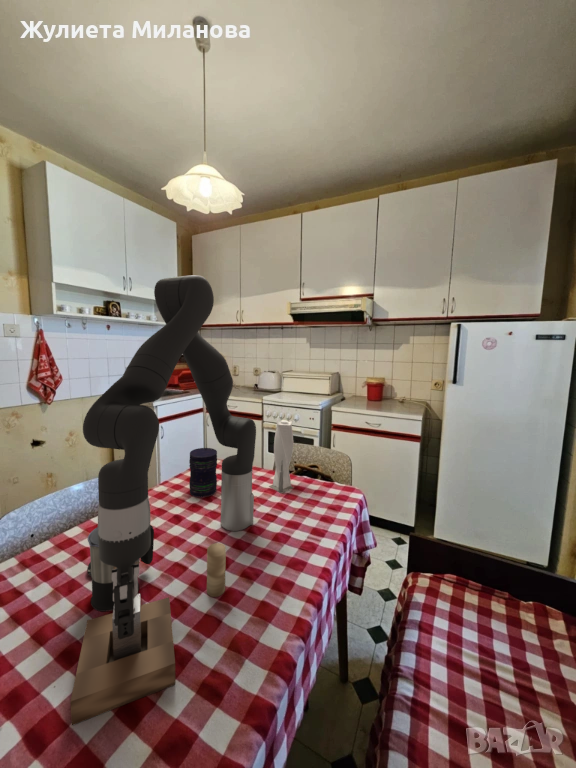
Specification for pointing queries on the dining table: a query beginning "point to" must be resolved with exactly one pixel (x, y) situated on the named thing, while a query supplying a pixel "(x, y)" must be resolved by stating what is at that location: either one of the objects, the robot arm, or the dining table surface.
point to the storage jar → (203, 472)
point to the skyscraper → (282, 455)
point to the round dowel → (216, 569)
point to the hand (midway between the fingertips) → (127, 614)
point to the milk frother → (106, 573)
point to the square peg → (130, 643)
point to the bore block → (123, 664)
